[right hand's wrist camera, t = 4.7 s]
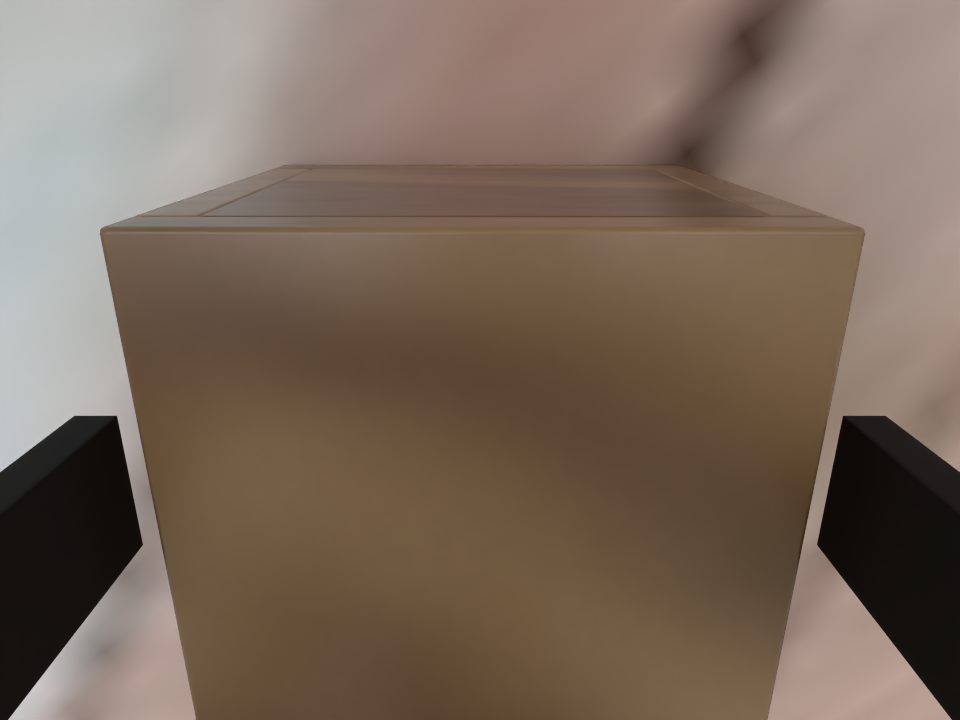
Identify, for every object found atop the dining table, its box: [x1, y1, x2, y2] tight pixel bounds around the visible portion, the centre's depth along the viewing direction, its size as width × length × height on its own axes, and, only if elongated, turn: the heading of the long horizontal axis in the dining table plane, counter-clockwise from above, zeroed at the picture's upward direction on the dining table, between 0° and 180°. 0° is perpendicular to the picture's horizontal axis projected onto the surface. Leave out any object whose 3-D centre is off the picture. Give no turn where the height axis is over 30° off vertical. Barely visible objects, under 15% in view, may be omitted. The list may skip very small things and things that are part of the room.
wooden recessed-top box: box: [100, 165, 865, 720], centre depth 17 cm, size 20×10×9 cm, turn 0°
